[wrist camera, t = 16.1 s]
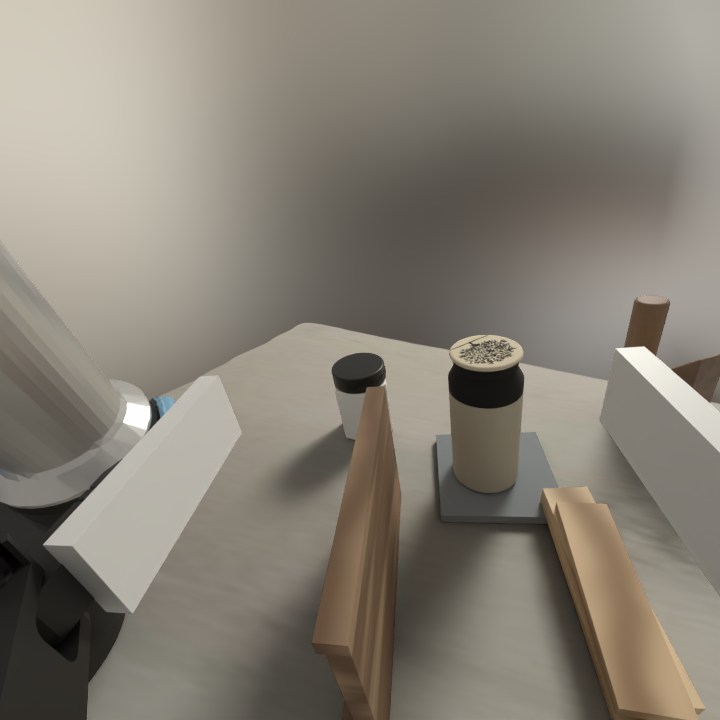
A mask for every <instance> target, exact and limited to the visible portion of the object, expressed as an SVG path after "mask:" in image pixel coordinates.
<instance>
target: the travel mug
mask: <svg viewBox="0 0 720 720" xmlns="http://www.w3.org/2000/svg"><path fill="white" fill-rule="evenodd" d="M449 355H450V358H451V360H452V361H453V364H454V365H453V367H452V368H451V370H450V372H449V375H448V382H449V400H450V419H451V438H452V457H453V470H454V474H455V476H456V477H457V479H458V480H459V481H460V482H461V483H462V484H463V485H465V486H466V487H468V488H470V489H472V490H475V491H478V492H483V493H497V492H501V491H504V490H506V489H508V488H510V487H511V486H512V485H513V484H514V483H515V481H516V479H517V476H518V463H519V448H520V433H521V418H522V403H523V388H524V375H523V373H522V371H521V369H520V368H519V366H518V364H519V361H520V360H521V359H522V357H523V350H522V348H521V346H520V345H519V344H517V343H516V342H515V341H513V340H510V339H508V338H505V337H501V336H494V335H479V336H472V337H468V338H465V339H462V340H460V341H458V342H456V343H455V344H454V345H453V346H452V347H451V349H450V351H449Z"/></svg>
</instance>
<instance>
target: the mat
mask: <svg viewBox="0 0 720 720" xmlns="http://www.w3.org/2000/svg"><path fill="white" fill-rule="evenodd" d="M436 442H437V458H438V474H439V491H440V507H441V521H442V522H468V523H517V524H548V523H547V520H546V517H545V514H544V510H543V507H542V504H541V501H540V498H541V493H542V490H543V489H544V488H558V485H557V483H556V481H555V478H554V476H553V473H552V471H551V469H550V466H549V464H548V461H547V459H546V456H545V454H544V452H543V449H542V447H541V444H540V442H539V440H538V437H537V435H536V432H529V433H520V448H519V463H518V476H517V479H516V481H515V483H514V484H513V485H512V486H511V487H510V488H508V489H506V490H504V491H501V492H497V493H483V492H478V491H475V490H472V489H470V488H468V487H466V486H465V485H463V484H462V483H461V482H460V481H459V480H458V479H457V477H456V476H455V474H454V470H453V457H452V438H451V435H436Z"/></svg>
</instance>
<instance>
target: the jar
mask: <svg viewBox="0 0 720 720" xmlns="http://www.w3.org/2000/svg"><path fill="white" fill-rule="evenodd" d="M385 373H386V370H385V366H384V361H383V359H382V358H381V357H380V356H378V355H376V354H372V353H356V354H352V355H348V356H346V357H343V358H342V359H340V360H338V361H337V362H336V363H335V364H334V365H333V367H332V375H333V380H334V384H335V393H336V397H337V402H338V406H339V410H340V415H341V419H342V423H343V428H344V432H345V436H346V438H349V439H353V440H355V439H356V435H357V430H358V426H359V421H360V416H361V412H362V407H363V403H364V398H365V393H366V389H367V387H380V386H385V391H386V397H387V404H388V411H389V417H390V424H391V431H393V425H392V419H391V412H390V405H389V398H388V391H387V385H386V379H385V378H386V374H385Z"/></svg>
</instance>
